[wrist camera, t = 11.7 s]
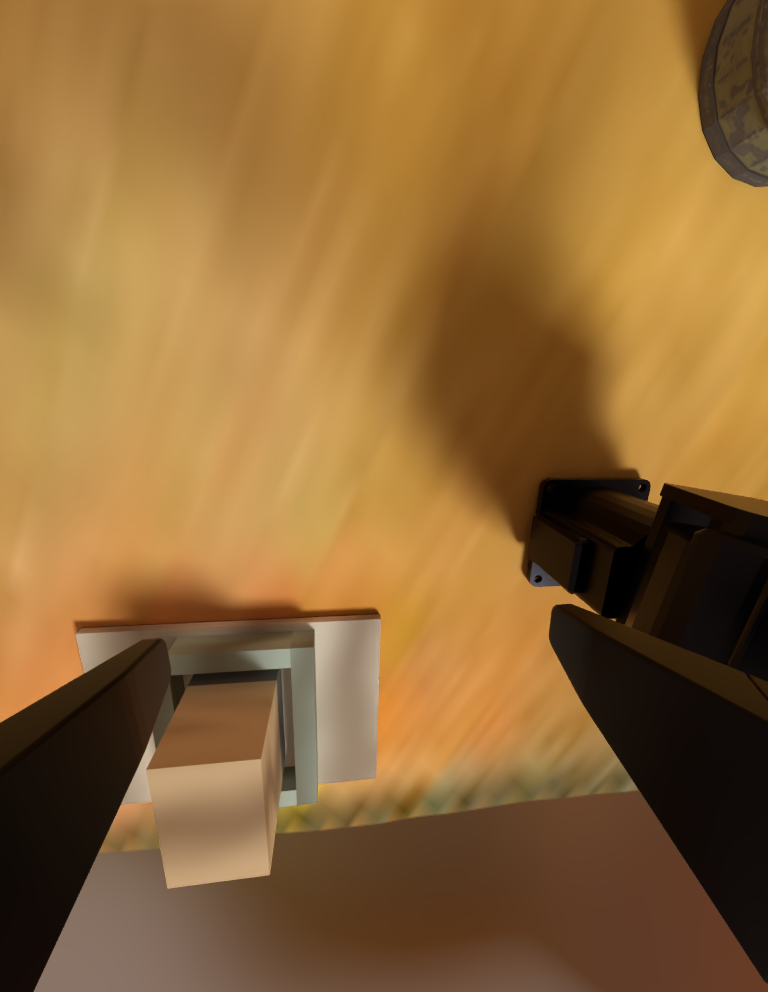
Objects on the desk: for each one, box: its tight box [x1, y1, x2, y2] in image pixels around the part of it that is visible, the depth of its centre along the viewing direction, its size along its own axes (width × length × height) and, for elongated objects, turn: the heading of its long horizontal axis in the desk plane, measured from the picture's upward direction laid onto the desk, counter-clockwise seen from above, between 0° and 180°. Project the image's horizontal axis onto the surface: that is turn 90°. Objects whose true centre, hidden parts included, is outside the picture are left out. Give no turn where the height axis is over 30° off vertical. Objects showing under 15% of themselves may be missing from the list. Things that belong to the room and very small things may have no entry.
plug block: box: [146, 669, 286, 888], centre depth 19 cm, size 7×4×6 cm, turn 178°
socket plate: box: [76, 614, 381, 807], centre depth 22 cm, size 16×12×2 cm
